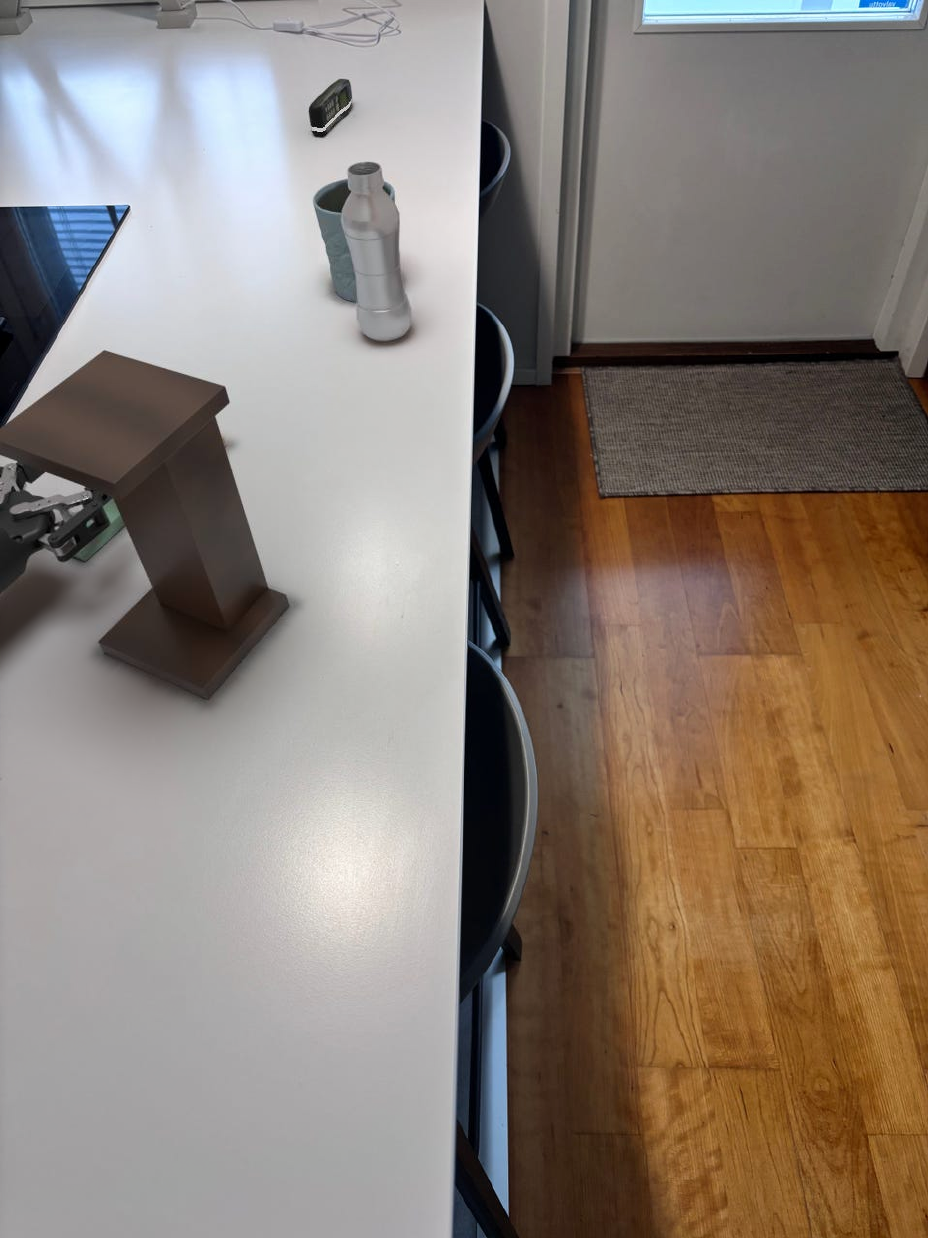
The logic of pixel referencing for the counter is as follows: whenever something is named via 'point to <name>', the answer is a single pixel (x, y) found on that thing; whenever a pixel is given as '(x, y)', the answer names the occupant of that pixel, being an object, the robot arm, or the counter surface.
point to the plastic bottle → (375, 254)
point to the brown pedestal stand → (160, 511)
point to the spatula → (107, 533)
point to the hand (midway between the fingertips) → (84, 462)
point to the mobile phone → (330, 105)
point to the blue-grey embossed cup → (338, 235)
